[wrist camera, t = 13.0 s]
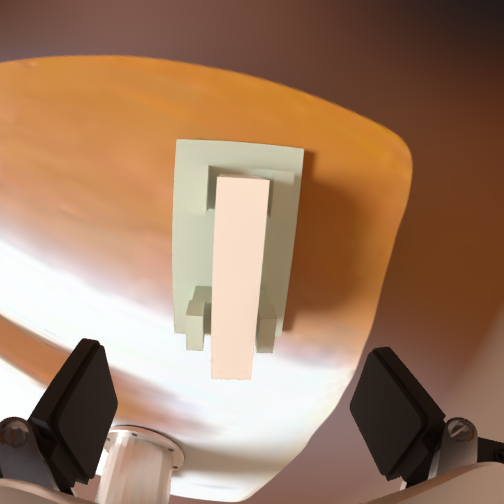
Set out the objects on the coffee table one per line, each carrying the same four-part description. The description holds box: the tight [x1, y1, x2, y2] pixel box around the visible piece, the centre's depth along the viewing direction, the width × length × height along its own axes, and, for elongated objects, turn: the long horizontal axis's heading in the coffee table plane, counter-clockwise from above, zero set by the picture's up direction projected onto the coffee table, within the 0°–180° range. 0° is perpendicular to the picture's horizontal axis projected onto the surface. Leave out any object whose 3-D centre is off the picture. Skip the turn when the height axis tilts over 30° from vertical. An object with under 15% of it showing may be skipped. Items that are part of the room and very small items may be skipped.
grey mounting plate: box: [172, 139, 304, 353], centre depth 22 cm, size 17×10×6 cm, turn 175°
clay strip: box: [211, 174, 270, 380], centre depth 18 cm, size 12×2×6 cm, turn 176°
